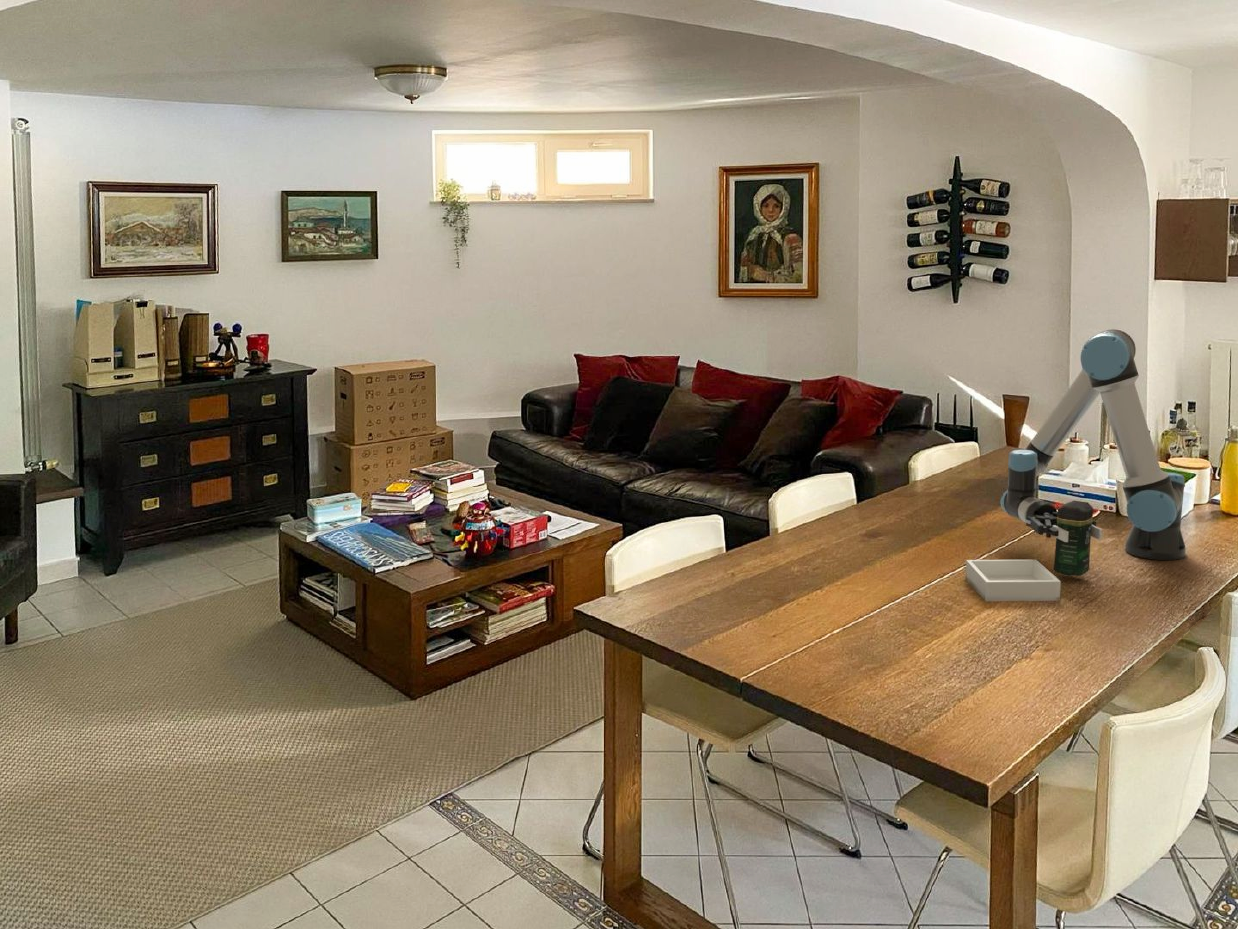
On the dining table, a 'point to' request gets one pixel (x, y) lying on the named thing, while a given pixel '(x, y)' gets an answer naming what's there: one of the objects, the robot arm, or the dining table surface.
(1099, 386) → the robot arm
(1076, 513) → the coffee jar
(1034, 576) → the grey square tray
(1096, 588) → the dining table surface
